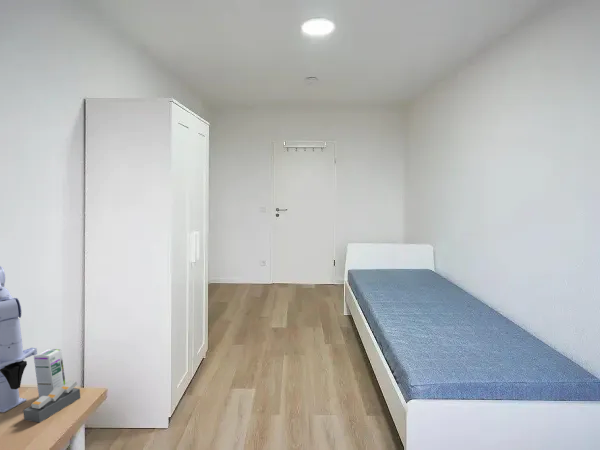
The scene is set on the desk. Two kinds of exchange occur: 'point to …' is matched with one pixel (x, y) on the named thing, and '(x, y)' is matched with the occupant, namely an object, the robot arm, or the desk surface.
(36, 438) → the desk surface
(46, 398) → the rocker
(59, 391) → the block
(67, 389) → the rocker
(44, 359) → the syrup box
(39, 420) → the rocker switch panel
